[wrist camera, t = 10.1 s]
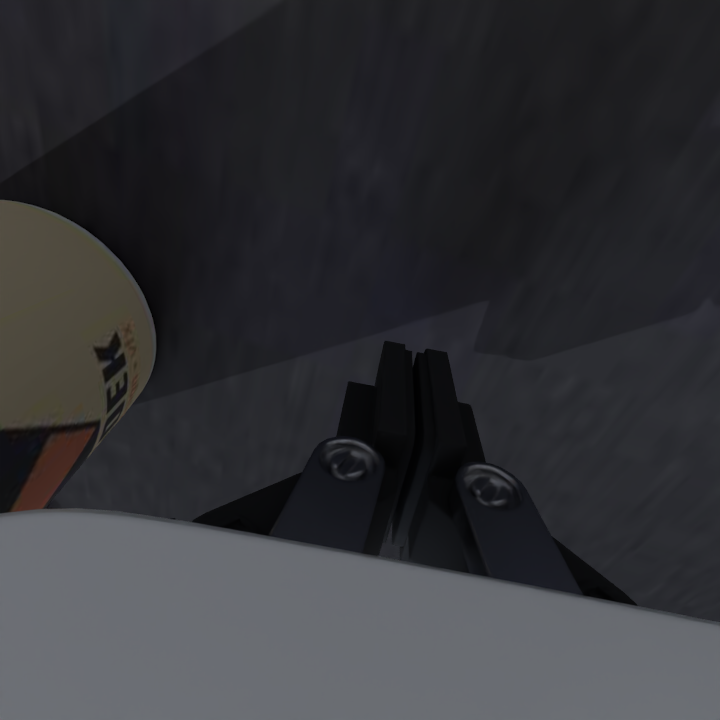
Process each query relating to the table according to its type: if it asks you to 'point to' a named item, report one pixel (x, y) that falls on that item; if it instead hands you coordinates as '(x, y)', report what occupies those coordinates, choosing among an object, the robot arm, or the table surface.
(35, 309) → the coffee cup
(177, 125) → the table surface
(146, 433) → the table surface
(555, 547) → the robot arm
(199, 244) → the table surface
